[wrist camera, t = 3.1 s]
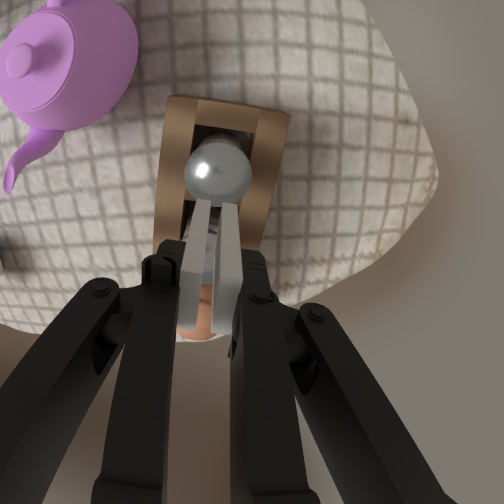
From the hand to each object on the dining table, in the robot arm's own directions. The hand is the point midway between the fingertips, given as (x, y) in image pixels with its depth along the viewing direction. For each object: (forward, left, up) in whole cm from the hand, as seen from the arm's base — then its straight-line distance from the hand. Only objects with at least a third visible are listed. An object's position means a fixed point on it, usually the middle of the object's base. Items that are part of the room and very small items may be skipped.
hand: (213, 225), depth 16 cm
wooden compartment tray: (+8, 0, -20) cm, 22 cm away
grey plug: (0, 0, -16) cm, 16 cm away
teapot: (-8, -18, -21) cm, 29 cm away
